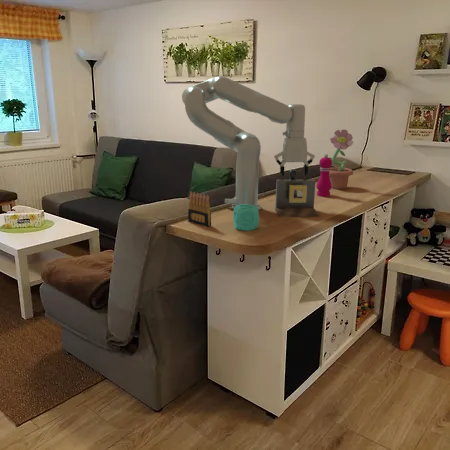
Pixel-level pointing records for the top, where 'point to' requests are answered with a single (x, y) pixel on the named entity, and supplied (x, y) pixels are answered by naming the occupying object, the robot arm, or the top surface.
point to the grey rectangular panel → (283, 194)
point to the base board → (296, 212)
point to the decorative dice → (246, 217)
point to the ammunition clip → (199, 210)
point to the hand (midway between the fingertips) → (293, 175)
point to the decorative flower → (340, 174)
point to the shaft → (293, 177)
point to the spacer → (291, 193)
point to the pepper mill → (324, 177)
